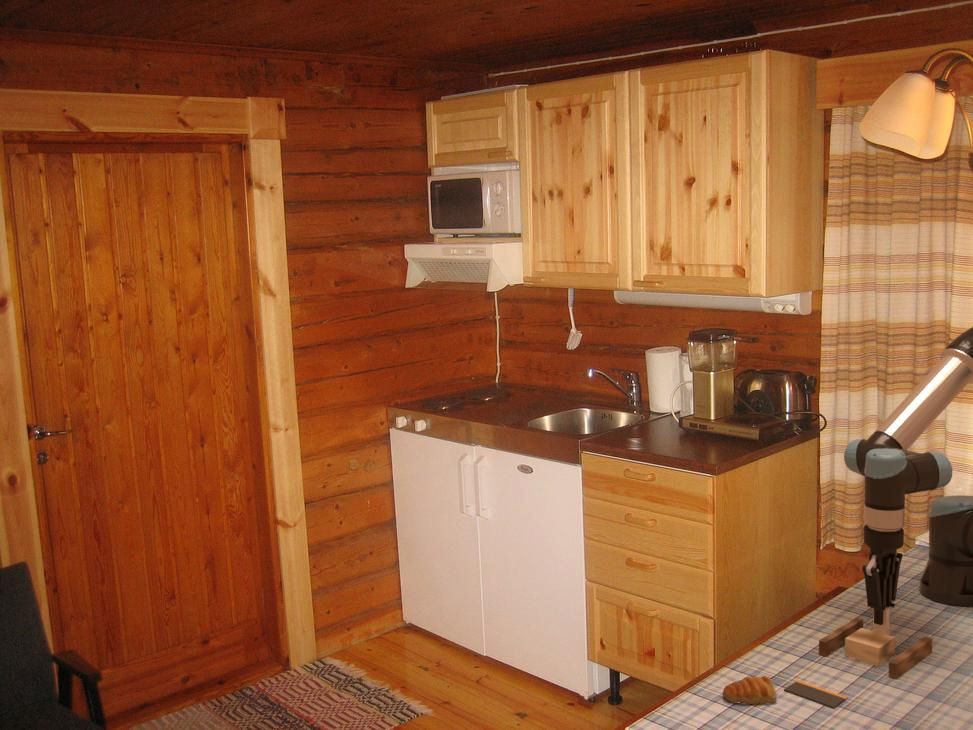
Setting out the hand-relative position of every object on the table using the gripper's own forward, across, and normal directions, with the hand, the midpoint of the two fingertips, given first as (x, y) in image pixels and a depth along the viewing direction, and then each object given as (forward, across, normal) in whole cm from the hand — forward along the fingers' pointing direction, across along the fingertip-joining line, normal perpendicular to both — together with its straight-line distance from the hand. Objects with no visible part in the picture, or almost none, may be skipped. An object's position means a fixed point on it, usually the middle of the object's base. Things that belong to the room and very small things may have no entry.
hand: (880, 637), depth 198 cm
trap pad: (+3, +26, 0) cm, 27 cm away
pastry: (+3, +35, -8) cm, 36 cm away
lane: (+3, +2, 0) cm, 4 cm away
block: (+3, +4, 0) cm, 5 cm away
